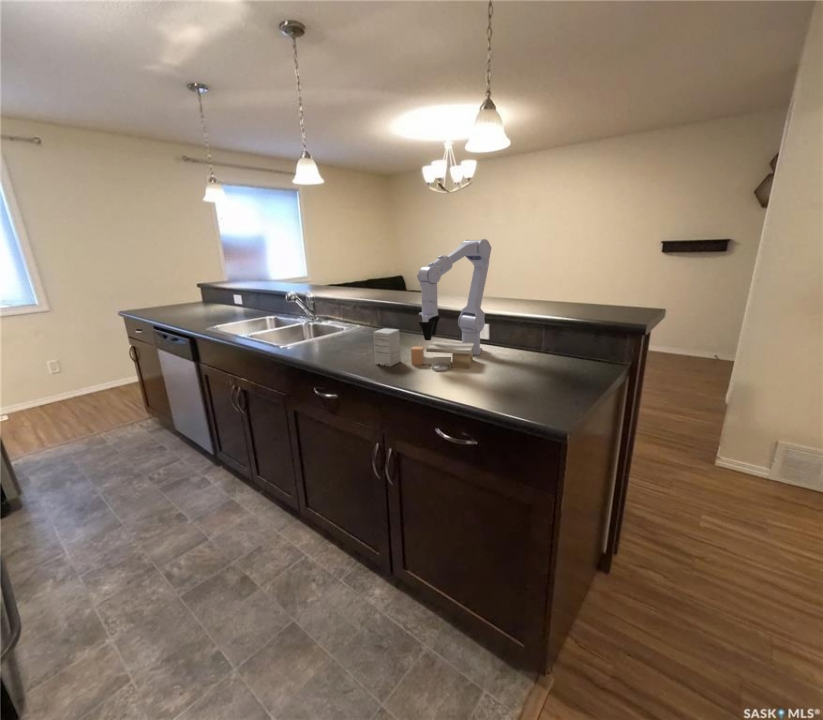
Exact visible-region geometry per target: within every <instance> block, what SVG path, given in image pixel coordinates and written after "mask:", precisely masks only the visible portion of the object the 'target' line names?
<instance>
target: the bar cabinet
mask: <svg viewBox="0 0 823 720" xmlns="http://www.w3.org/2000/svg"><path fill="white" fill-rule="evenodd" d="M473 348H474V343H462V342H459V341H457V342H456V341H455V342H453V341H452V342H451V341H432V342H431V343H430V344H429V345H428V346H427V347H426V353H439V354H440V353H442V354H452V356H451V365H452V366H451V367H452V368H454V369H470V367H471V365H472V363H473V360H474V358H473V357H474V355H473Z"/></svg>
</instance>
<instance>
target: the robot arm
mask: <svg viewBox="0 0 823 720" xmlns="http://www.w3.org/2000/svg"><path fill="white" fill-rule="evenodd" d="M491 252H492V246H491V243H490V241H489V240H488V239H486V238H483V239H465V240H464V241H463V242H461V243H460V245H458V246H457V248H455V249H454V250H452V251H451V252H450V253H449V254H448V255H444V254H442V255H438V256H437V259H435V260H434V261H432V262H430V263H428V265H427V266H422V267H421V268H420V269H419V271H418V274H416V277H417V280H418V281H419V287H420V292H421V294H420V295H421V297H420V299H421V312H419V313H418V316H421V318H422V320H418V324H419V326H420V328H421V331H422V334H423V339H424V341H431V340H432V336H436V335H437V329H438V324H439V321H440V319H441V315H439V309H438V283H439V282H440V280H441V278H442V276H443V275H445V274H447V272H449V271H451V269H452V268H453V264H455V263H457V262H458V261H459V260H461V259H462V258H466V259H467V260H468V261H470V263H472V265H473V272H472V277H471V278H472V279H471V282H470V288H469V292H468V297H467V303H466V305H465V307H464V308H462V309H461V311H460V314H459V316H458V319H457V325H458V327H459V328H460V331H461V343H474V348H473V356H474V355H475V356H476V355H477V356H479V355H481V352H482V349H483V348H482V347H481V332H482V331H483V329H484V328H485V324H486V321H485V317H486V313H485V312H484V310H483V309H482V308H481V306H482V303H483V302H482V301H483V298H484V297H483V296H484V293H485V292H484V291H485V287H486V286H485V285H486V281H487V276H488V271H489V266H490V259H491V258H490V257H491Z"/></svg>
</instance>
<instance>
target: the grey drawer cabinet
mask: <svg viewBox="0 0 823 720" xmlns="http://www.w3.org/2000/svg"><path fill="white" fill-rule="evenodd" d="M372 334H373V335H372V336H373V337H372V338H373V351H374V353H373V354H374V363H375V365H378V364H380V365H379V366H384V365H386V367H392V366H394V365H396V364H398V363H401V362H402V360H401V359H402V357H401V337H400V329H397V328H396V329H395V328H387V327H385V328H380V329H378V330H375V331H373V332H372Z"/></svg>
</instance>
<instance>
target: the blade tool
mask: <svg viewBox="0 0 823 720" xmlns="http://www.w3.org/2000/svg"><path fill="white" fill-rule="evenodd" d="M424 348H425V347H424V346H412V347H411V349H410V352H411V353H410V356H411V359H410V361H411V366H422V365H433V364H437V363H444V364H448V365H449V366H451V365H452V356H426V355H425V353H424V352H425V351H424Z"/></svg>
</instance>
